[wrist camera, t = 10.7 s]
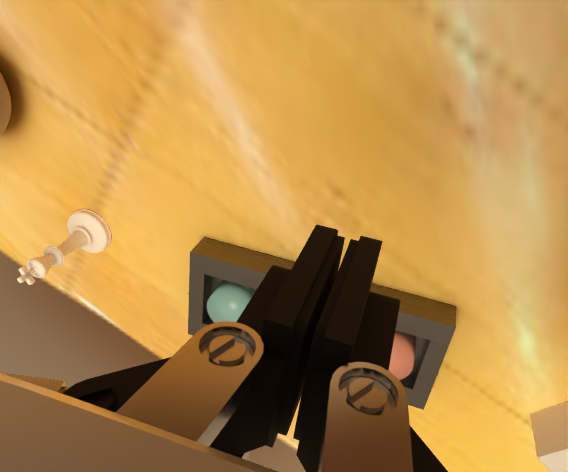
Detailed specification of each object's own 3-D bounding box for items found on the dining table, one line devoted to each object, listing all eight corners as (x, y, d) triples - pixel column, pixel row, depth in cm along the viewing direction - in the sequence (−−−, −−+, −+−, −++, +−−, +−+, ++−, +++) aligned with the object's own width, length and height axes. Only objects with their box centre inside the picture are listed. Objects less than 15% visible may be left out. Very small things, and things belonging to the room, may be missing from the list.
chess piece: (87, 254, 53) (18, 307, 45) (62, 215, 52) (-14, 262, 43) (119, 244, 51) (53, 298, 43) (95, 203, 50) (21, 250, 41)
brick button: (421, 330, 43) (419, 349, 41) (408, 367, 46) (406, 387, 44) (370, 315, 44) (366, 333, 42) (360, 352, 47) (355, 371, 44)
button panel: (455, 306, 42) (455, 327, 40) (425, 386, 48) (423, 409, 45) (204, 237, 47) (190, 252, 45) (201, 316, 52) (188, 333, 50)
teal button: (263, 284, 46) (253, 299, 44) (259, 321, 49) (249, 337, 47) (219, 271, 47) (207, 286, 45) (216, 308, 50) (205, 323, 47)
